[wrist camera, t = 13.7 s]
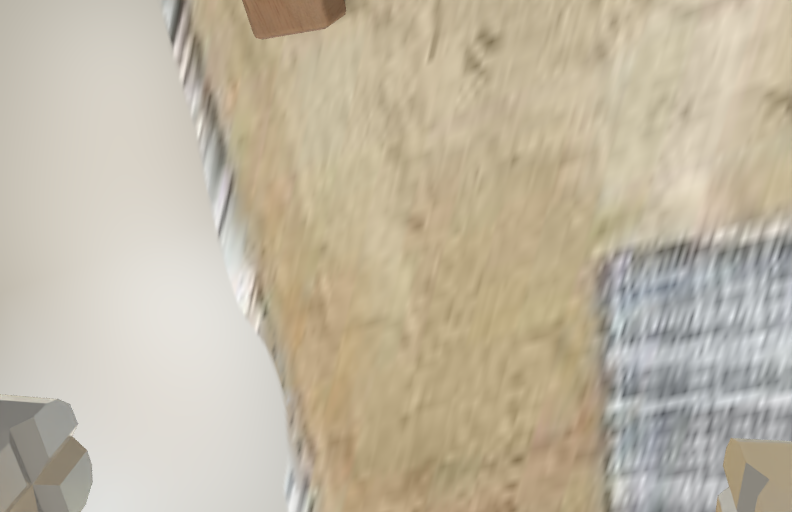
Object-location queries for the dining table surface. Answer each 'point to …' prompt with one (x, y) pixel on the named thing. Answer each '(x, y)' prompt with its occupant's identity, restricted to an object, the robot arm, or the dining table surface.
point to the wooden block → (291, 16)
